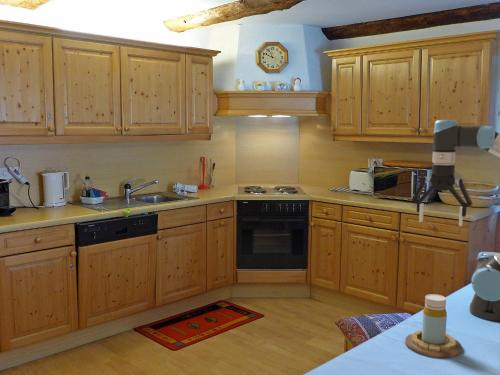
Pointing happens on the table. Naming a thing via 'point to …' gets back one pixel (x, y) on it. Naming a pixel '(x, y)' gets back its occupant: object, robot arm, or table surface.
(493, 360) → the table surface
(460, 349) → the ring tray
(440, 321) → the bottle
